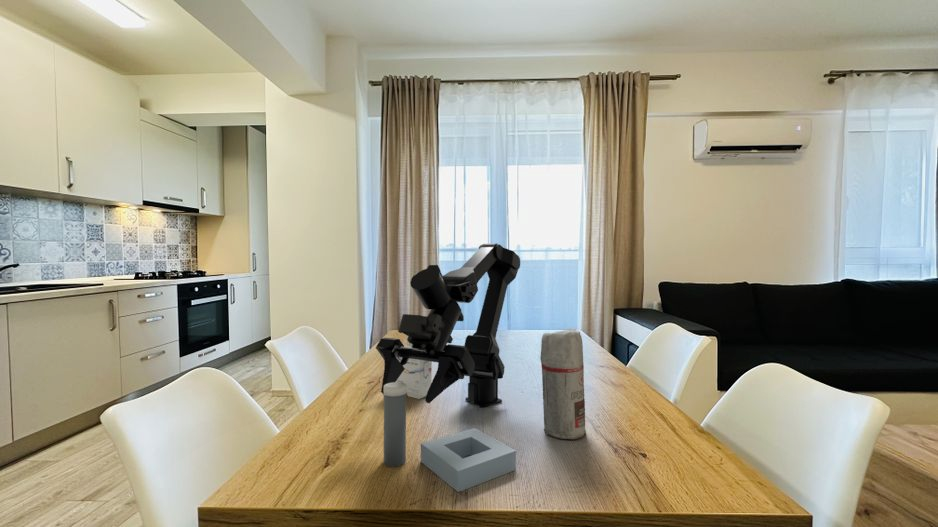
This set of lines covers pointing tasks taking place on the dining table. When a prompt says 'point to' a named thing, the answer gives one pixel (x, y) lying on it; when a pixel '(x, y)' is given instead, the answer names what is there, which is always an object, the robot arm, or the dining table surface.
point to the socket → (467, 458)
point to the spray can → (563, 384)
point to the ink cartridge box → (416, 376)
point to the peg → (394, 424)
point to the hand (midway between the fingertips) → (404, 397)
